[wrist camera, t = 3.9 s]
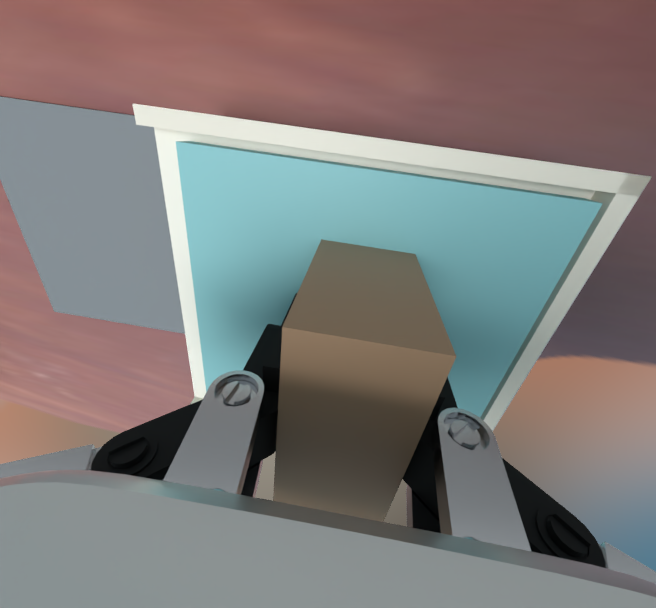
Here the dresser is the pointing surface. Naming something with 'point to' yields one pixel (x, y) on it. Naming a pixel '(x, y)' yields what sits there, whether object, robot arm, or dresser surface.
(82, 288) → the mat
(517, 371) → the box
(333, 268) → the lid
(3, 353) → the dresser surface
